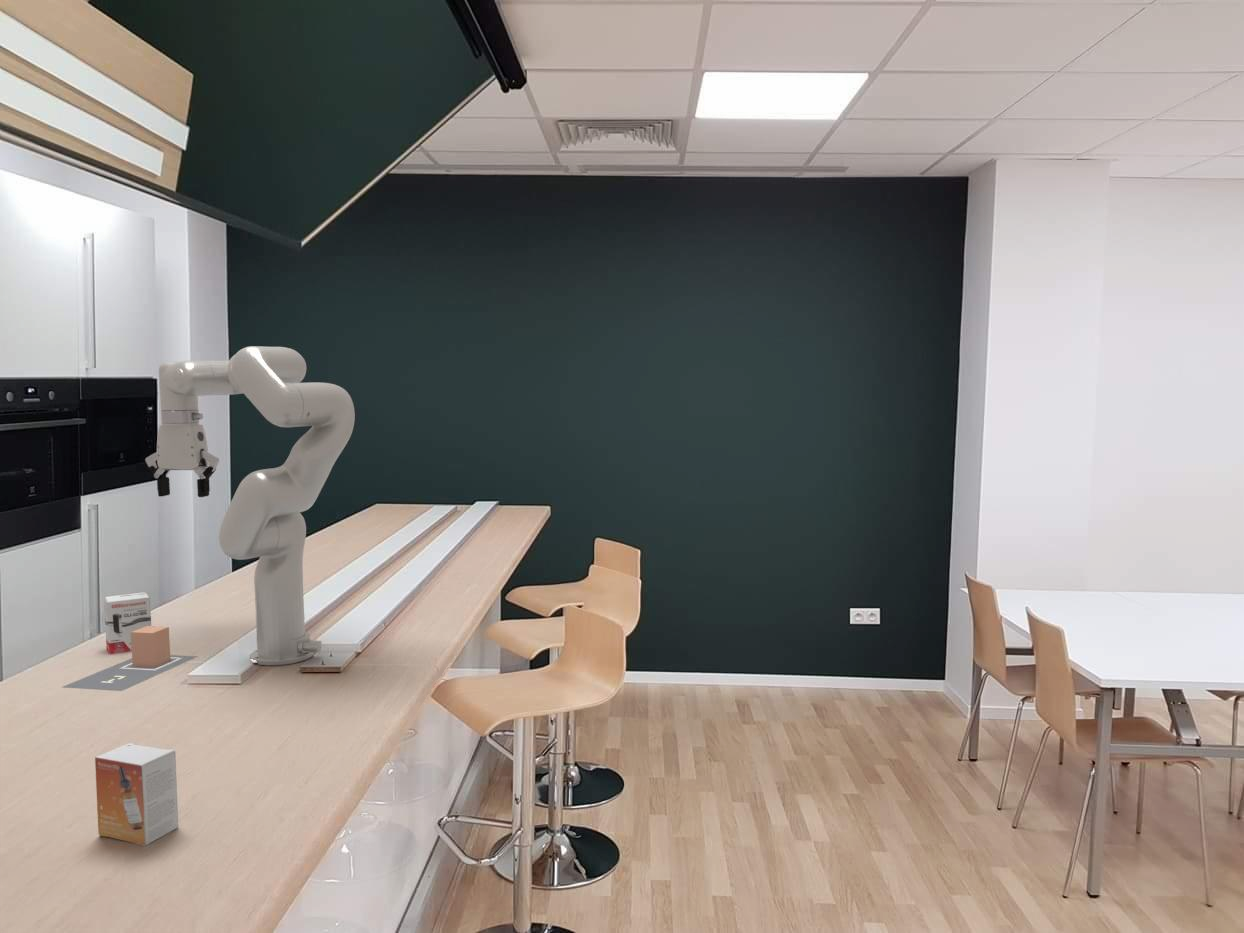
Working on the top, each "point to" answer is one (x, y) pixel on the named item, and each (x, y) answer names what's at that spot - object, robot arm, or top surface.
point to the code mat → (125, 675)
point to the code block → (150, 646)
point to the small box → (136, 793)
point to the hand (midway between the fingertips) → (183, 496)
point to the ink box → (125, 619)
